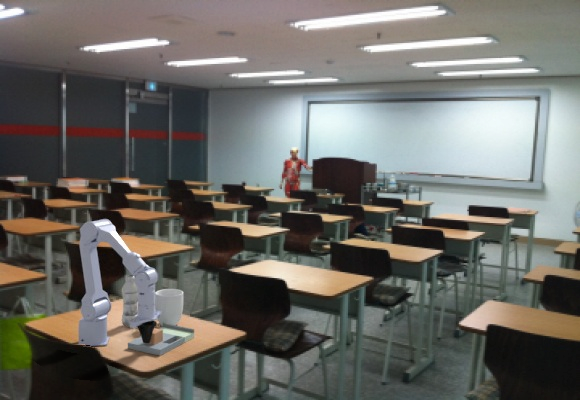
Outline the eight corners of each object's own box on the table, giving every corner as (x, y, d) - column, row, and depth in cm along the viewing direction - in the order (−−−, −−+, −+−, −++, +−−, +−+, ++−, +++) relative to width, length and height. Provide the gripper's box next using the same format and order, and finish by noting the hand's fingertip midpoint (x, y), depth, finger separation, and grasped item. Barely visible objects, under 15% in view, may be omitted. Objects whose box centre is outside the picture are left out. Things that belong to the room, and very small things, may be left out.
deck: (160, 355, 182) (160, 346, 181) (127, 348, 187) (127, 339, 187) (194, 337, 200) (194, 329, 200) (163, 331, 205) (163, 323, 205)
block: (154, 344, 186) (154, 333, 185) (144, 342, 188) (144, 331, 187) (162, 340, 190) (162, 329, 190) (152, 338, 192) (152, 327, 191)
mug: (141, 324, 213) (141, 292, 211) (158, 317, 223) (159, 286, 221) (172, 330, 207) (172, 297, 205) (188, 322, 217) (189, 291, 215)
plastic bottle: (141, 323, 214) (141, 274, 212) (134, 329, 207) (135, 278, 205) (125, 322, 214) (125, 273, 212) (118, 328, 208) (118, 277, 206)
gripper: (141, 311, 176) (141, 351, 177) (169, 300, 189) (168, 337, 190) (124, 308, 179) (124, 347, 180) (152, 297, 192) (152, 334, 193)
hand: (146, 342), depth 185 cm, fingers closed
